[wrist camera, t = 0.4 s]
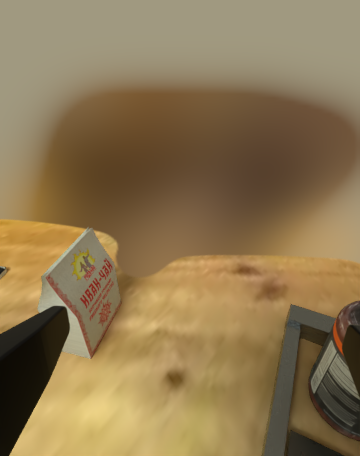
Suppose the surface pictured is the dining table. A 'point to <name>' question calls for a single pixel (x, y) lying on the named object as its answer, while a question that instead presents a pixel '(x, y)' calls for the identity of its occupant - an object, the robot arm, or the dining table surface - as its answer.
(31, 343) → the robot arm
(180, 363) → the dining table surface
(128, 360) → the dining table surface
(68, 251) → the tea bag
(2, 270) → the smartphone
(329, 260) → the dining table surface
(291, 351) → the grey rectangular frame
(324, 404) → the supplement bottle
